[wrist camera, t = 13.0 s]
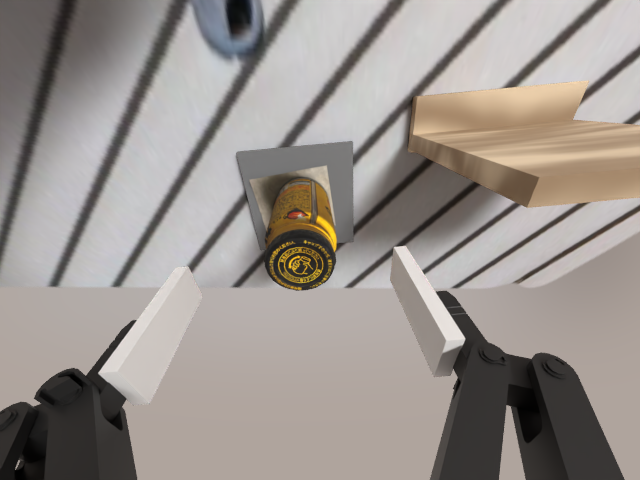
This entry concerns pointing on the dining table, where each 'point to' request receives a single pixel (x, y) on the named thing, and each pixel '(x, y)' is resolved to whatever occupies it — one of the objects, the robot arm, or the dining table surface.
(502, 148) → the screen
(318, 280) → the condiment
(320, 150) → the mat
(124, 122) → the dining table surface
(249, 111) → the dining table surface
